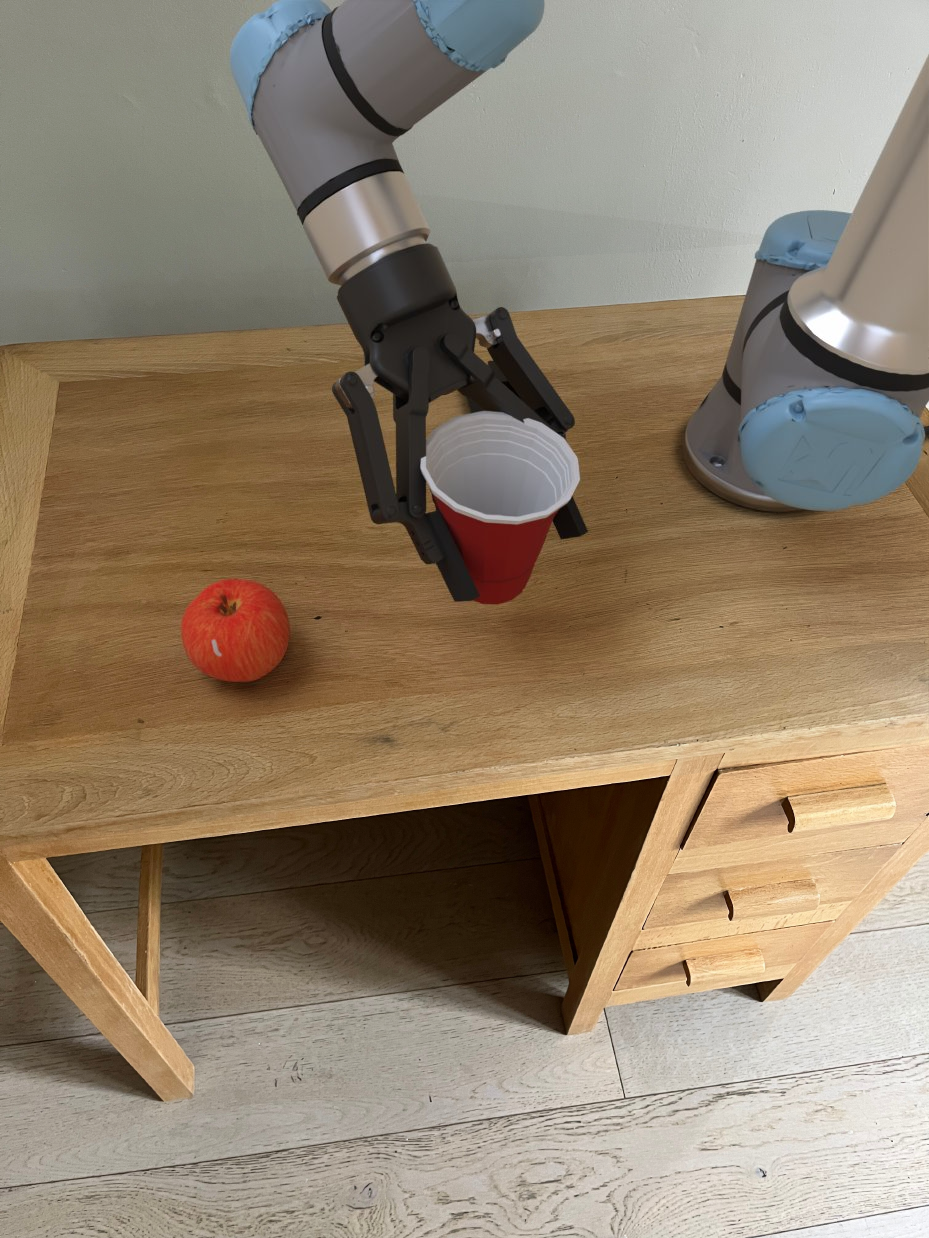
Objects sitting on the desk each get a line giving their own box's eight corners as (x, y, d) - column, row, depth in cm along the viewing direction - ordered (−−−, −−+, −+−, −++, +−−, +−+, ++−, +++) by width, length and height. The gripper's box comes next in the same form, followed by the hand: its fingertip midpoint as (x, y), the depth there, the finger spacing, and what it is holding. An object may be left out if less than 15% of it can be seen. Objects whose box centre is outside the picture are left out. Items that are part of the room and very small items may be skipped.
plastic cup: (553, 644, 62) (571, 526, 53) (408, 619, 64) (401, 501, 54) (571, 539, 69) (590, 418, 60) (440, 519, 70) (439, 397, 61)
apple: (279, 708, 65) (261, 645, 59) (178, 691, 66) (149, 627, 60) (309, 627, 70) (295, 560, 64) (214, 612, 71) (192, 545, 65)
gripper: (486, 238, 65) (603, 507, 69) (223, 340, 56) (377, 639, 61) (537, 193, 58) (663, 495, 63) (248, 301, 49) (418, 641, 54)
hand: (522, 566), depth 62 cm, fingers closed on plastic cup, 9 cm apart
